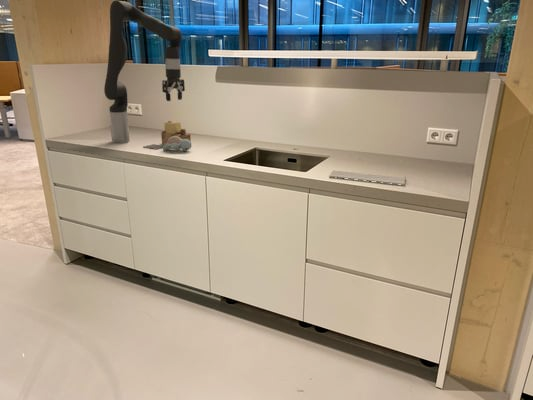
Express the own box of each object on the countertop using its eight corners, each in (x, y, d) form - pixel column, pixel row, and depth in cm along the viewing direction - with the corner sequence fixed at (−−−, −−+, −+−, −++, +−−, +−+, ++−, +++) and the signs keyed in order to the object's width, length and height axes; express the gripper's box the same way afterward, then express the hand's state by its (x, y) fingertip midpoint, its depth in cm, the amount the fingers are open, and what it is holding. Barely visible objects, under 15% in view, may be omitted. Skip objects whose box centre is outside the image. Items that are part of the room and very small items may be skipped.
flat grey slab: (334, 172, 186) (328, 179, 175) (334, 165, 185) (329, 172, 174) (405, 179, 176) (404, 187, 165) (406, 173, 175) (405, 180, 164)
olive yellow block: (165, 133, 233) (164, 121, 231) (170, 131, 237) (169, 120, 235) (175, 134, 230) (175, 122, 228) (181, 133, 234) (180, 121, 231)
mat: (143, 147, 225) (142, 146, 225) (153, 144, 231) (153, 144, 231) (156, 149, 220) (156, 148, 220) (166, 146, 227) (166, 146, 227)
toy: (165, 161, 216) (189, 150, 211) (156, 144, 213) (179, 132, 209) (174, 156, 227) (197, 145, 222) (165, 139, 224) (188, 128, 220)
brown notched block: (162, 143, 235) (160, 127, 232) (171, 141, 241) (170, 126, 238) (182, 146, 228) (181, 130, 225) (190, 144, 234) (190, 128, 231)
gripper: (177, 67, 217) (178, 98, 223) (157, 67, 206) (159, 100, 211) (187, 68, 214) (188, 99, 219) (168, 68, 202) (170, 102, 208)
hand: (174, 100), depth 215 cm, fingers open, 8 cm apart
